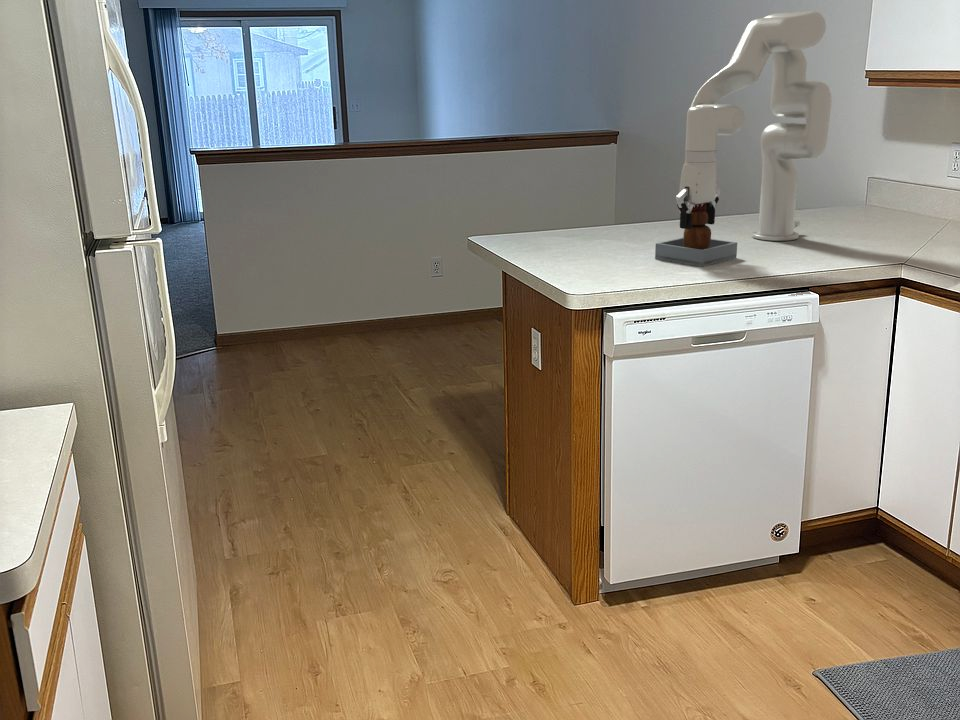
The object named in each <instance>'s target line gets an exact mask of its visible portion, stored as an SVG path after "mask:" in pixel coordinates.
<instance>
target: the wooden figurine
mask: <svg viewBox="0 0 960 720" xmlns="http://www.w3.org/2000/svg"><path fill="white" fill-rule="evenodd" d="M706 205H707V203H704V204H698V205H694V206H693V208H692V210H691V212H690V213H692V228H691V229H684V231H683V237H684V246H685V247H687V248H694V249H700V250H704V249H708V248H709V245H710V241H711V239H712V230H711V228H710V226H708V224H707V222H708V214H707V213H706Z"/></svg>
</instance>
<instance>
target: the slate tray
mask: <svg viewBox="0 0 960 720" xmlns="http://www.w3.org/2000/svg"><path fill="white" fill-rule="evenodd" d="M654 249H655V252H654V253H655V254H654V255H655V256H654V259H655V260H660V261H665V260H666V261H667V262H671V261H672V262H673V263H677V262H678V263H677V264H683V263H684V265H689V264H691V266H695V265H697V266H696V267H701V266H703V267H707V266H710V264H711V265H714V264H713V263H715V264H718V263H717V262H719V263H722V262H721V261H723V262H726V260H727V261H730V260H733V259H737V254H738V253H737V252H738V242H735V241H729V240H723V239H715V238H711V241H710V245H709V248H708V249H704V250H700V249H694V248H687V247H685V246H684V236H683V237H680V238H674V239H671V240H666V241H662V242H661V241H660V242H656V243H655V248H654ZM666 261H665V262H666ZM706 265H707V266H706Z"/></svg>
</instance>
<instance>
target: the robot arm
mask: <svg viewBox="0 0 960 720" xmlns="http://www.w3.org/2000/svg"><path fill="white" fill-rule="evenodd" d="M826 25H827V24H826V21H825V18H824V16H823V15H822V14H821V13H820V12H818V11H815V10H812V11H809V10H808V11H796V12H795V11H794V12H793V11H792V12H777V13H772V14H769V15H766V16H764V17H761V18H755V19H753V20H751V21H750V22H749V23H748V24H747V25H746V27H745V29H744V31H743V33H742V35H741V37H740V39H739V41H738V42H737V45H736V47H735V50H734V52H733V53H732V55H731V57H730V60H729V62H728V64H727V65H726V66H725V67H723V68H722V69H721V70H719V71H718V72H716V73H715V74H714V75H713V76H711V77H710V78H709V79H708V80H707V81H706V82H705V83H704V84H703V85H701V86H700V88H699V89H698V91H697V93H696V94H695V96H694V97H693V100H692V102H691V104H690V107H689V108H688V110H687V112H686V113H687V114H686V128H685V129H686V131H685V134H686V135H685V152H684V153H685V154H684V163H683V165H682V168H681V169H682V170H681V173H680V181H679V189H678V190H679V192H678V194H677V195H676V196H675V200H676V207H677V209H678V212H679V213H680V214H679V215H680V217H679V228H680V229H684V230H685V229H691V228H692V213H690V212H691V210H692V208H693V206H694V207H695V205H697V206H698V204H702V205H703V204H704V203H707V205H706V213H707V214H708V222H707V224H706V225H715V222H716V221H715V220H716V208H717V207H718V202H719V200H720V198H719V197H720V195H721V191H722V190H721V189H720V188H719V187H718V183H717V182H718V181H717V180H718V179H717V177H718V176H717V175H718V173H717V146H718V136H733V135H735V134H737V133H738V132H739V131H741V129H742V128H743V126H744V123H745V117H746V116H745V113H744V111H743V110H742V108H740V107H739V106H738V105H735V104H730V103H728V104H727V103H726V104H725V103H718V102H719V101H720V100H721V99H724V98H725V97H726V96H728V95H730V94H732V93H735V92H737V91H740V90H743V89H745V88H747V87H749V86H751V85H753V84H755V83H756V82H757V81H758V80H759V79H760V76H761V75H762V72H763V69H764V67H765V66H766V64H767V61H768V60H769V57H770V56H771V59H772V63H773V72H772V80H771V81H772V82H771V92H770V93H771V94H770V106H769V107H770V111H771V113H772V115H774V116H775V117H778V118H786V119H791V118H792V119H805V123H799V122H775V123H771V124H769V125H767V126H766V127H765V128H764V129H763V131H762V132H761V134H760V150H761V151H760V152H761V159H762V161H761V163H762V169H761V171H762V172H761V173H762V174H761V187H760V198H759V199H760V201H759V213H758V214H759V215H758V216H759V218H758V228H757V230H755V231H753V232H752V234H751V237H752V238H753V239H757V240H763V241H775V242H780V241H781V242H782V241H783V242H784V241H787V242H788V241H793V240H797V239H799V237H800V236H799V235H800V234H799V232H796V231H795V228H799V227H800V226H801V222H800V220H795V215H796V201H797V200H796V199H797V189H798V176H799V175H798V170H797V167H796V165H795V163H794V161H793V160H801V161H803V160H805V161H807V160H808V161H814V160H815V161H816V160H817V159H819V158H821V157H822V155H823V154H824V152H825V150H826V147H827V142H828V134H829V127H830V118H831V110H832V93H831V90H830V88H829V86H828V85H827V83H825V82H822V81H816V80H813V81H811V80H810V81H809V80H808V81H806V80H807V78H806V77H807V63H808V62H807V58H806V56H805V53H804V52H803V50H804V49H808V48H811V47H814V46H816V45H818V44H819V43H820V42H821V40H822V39H823V38H824V36H825V34H826V33H825V32H826Z"/></svg>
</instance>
